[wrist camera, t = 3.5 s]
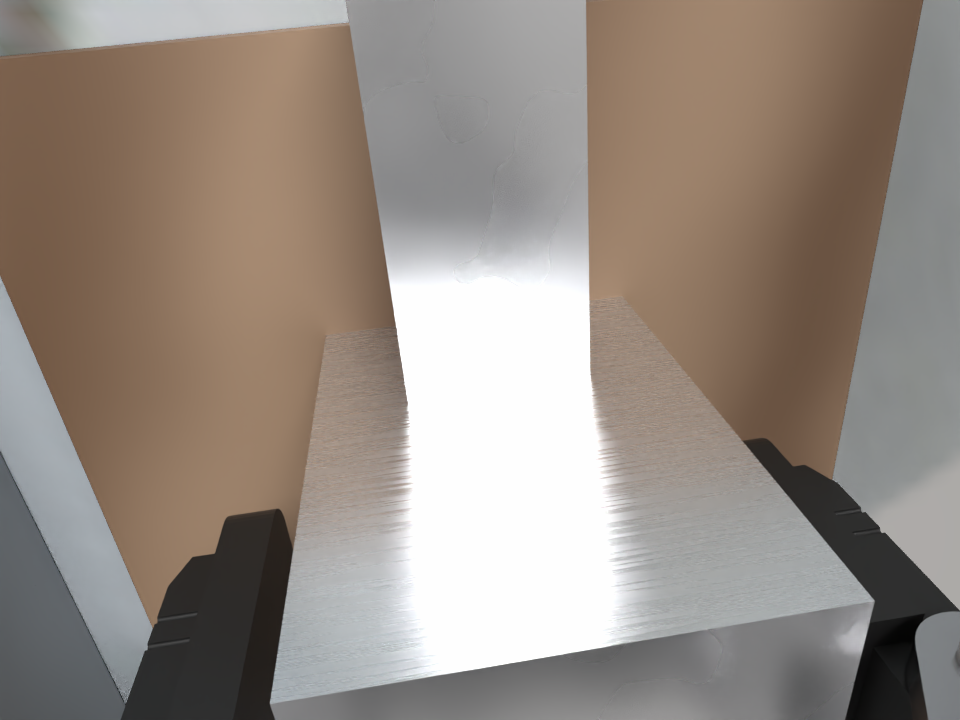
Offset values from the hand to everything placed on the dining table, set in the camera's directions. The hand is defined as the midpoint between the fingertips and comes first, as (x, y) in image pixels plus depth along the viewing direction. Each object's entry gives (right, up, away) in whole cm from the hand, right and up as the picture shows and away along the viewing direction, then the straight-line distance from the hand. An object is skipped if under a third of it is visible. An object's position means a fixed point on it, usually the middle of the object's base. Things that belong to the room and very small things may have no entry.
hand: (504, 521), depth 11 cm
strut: (0, +1, +2) cm, 2 cm away
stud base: (0, +2, +3) cm, 4 cm away
